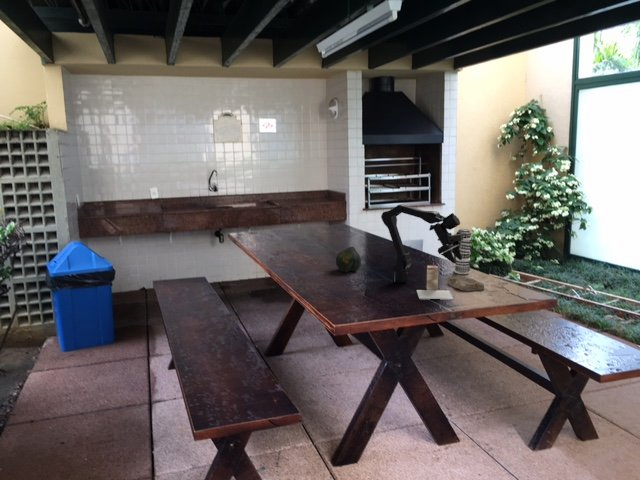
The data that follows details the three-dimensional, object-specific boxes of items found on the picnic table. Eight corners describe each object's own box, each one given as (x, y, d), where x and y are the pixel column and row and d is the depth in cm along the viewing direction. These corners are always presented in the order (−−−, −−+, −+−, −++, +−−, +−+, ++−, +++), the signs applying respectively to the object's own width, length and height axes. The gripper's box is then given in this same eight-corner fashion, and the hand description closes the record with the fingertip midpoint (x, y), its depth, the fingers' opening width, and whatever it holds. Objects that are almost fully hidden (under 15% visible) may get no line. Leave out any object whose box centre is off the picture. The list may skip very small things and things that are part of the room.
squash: (327, 262, 309) (343, 244, 302) (338, 258, 322) (354, 241, 316) (343, 280, 305) (360, 262, 299) (354, 275, 318) (370, 258, 312)
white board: (419, 299, 253) (419, 298, 253) (416, 291, 267) (416, 290, 267) (453, 299, 252) (453, 298, 252) (448, 291, 266) (449, 290, 265)
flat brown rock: (441, 283, 284) (461, 292, 265) (442, 274, 283) (461, 282, 264) (465, 281, 287) (485, 290, 268) (465, 272, 287) (486, 281, 268)
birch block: (427, 291, 267) (428, 267, 265) (426, 288, 272) (427, 265, 270) (437, 291, 267) (438, 268, 265) (436, 288, 272) (437, 265, 270)
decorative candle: (471, 274, 300) (473, 230, 295) (454, 273, 301) (456, 230, 297) (470, 270, 308) (472, 228, 304) (453, 270, 310) (455, 227, 306)
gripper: (449, 229, 256) (465, 257, 254) (462, 224, 271) (477, 251, 269) (430, 239, 262) (446, 267, 260) (444, 234, 277) (459, 260, 275)
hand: (457, 261), depth 266 cm, fingers open, 9 cm apart
